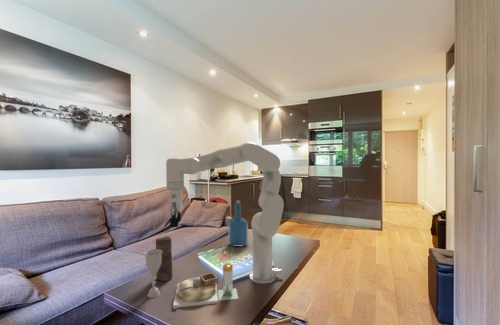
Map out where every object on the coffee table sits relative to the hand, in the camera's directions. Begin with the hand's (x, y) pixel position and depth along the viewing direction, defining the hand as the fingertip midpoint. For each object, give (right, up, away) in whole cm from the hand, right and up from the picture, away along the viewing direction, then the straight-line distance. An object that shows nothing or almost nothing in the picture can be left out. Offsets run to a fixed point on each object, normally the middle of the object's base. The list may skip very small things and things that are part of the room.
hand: (175, 224), depth 106 cm
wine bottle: (+25, -29, +59) cm, 70 cm away
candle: (-9, -29, +9) cm, 32 cm away
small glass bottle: (+24, -28, -6) cm, 37 cm away
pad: (+24, -29, -6) cm, 38 cm away
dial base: (+11, -29, -5) cm, 31 cm away
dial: (+11, -27, -5) cm, 29 cm away
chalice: (-8, -29, -5) cm, 30 cm away
